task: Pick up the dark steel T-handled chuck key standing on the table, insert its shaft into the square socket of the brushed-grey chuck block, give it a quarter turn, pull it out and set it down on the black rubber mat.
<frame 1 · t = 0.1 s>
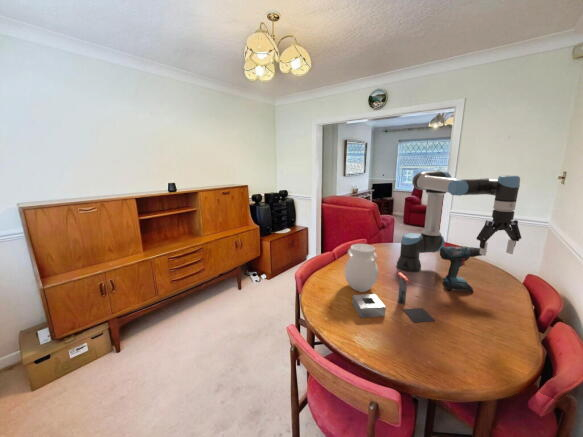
hand: (496, 254, 117), 28 cm above the table, fingers open, 13 cm apart
white vase: (360, 287, 145), on the table
power drill: (458, 288, 142), on the table
chuck block: (368, 309, 124), on the table
chuck key: (401, 301, 130), on the table
mat: (418, 315, 118), on the table
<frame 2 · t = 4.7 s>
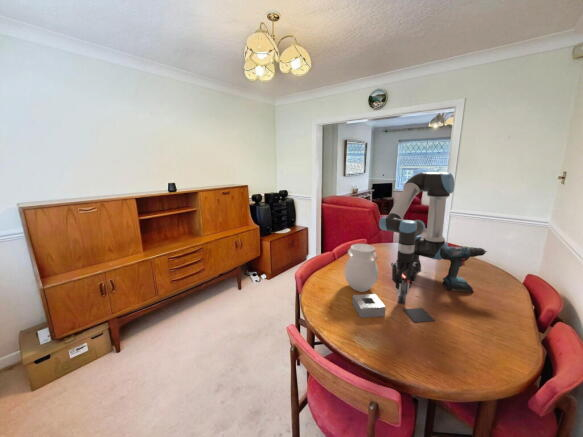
hand: (402, 293, 129), 5 cm above the table, fingers closed on chuck key, 3 cm apart
chuck key: (401, 301, 130), on the table, touching gripper
everything else where it was.
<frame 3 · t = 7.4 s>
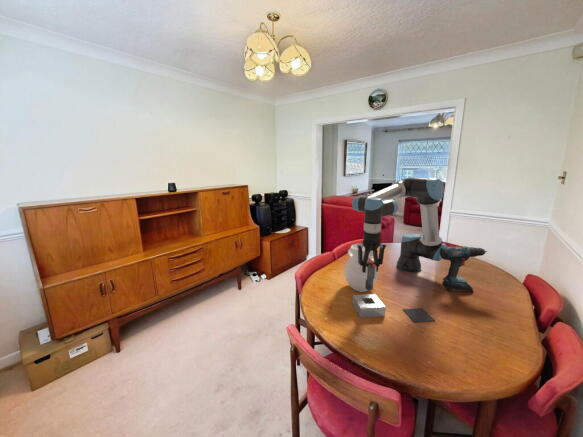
hand: (369, 277, 120), 17 cm above the table, fingers closed on chuck key, 3 cm apart
chuck key: (369, 288, 121), point 12 cm above the table, touching gripper
everything else where it was.
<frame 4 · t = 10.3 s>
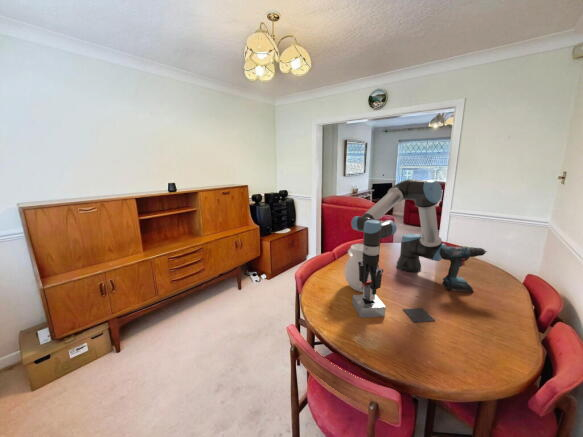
hand: (368, 297, 122), 7 cm above the table, fingers closed on chuck key, 3 cm apart
chuck key: (368, 307, 123), point 1 cm above the table, touching gripper
everything else where it was.
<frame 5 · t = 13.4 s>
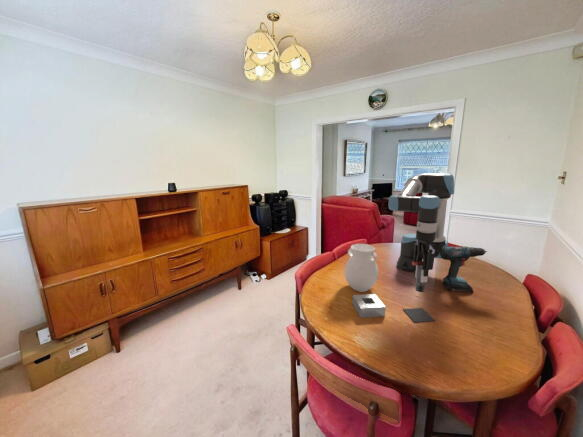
hand: (421, 279, 114), 18 cm above the table, fingers closed on chuck key, 3 cm apart
chuck key: (419, 290, 116), point 13 cm above the table, touching gripper
everything else where it was.
when the fingers open (6 cm above the table, at t = 16.0 s): chuck key stays where it is, resting on mat.
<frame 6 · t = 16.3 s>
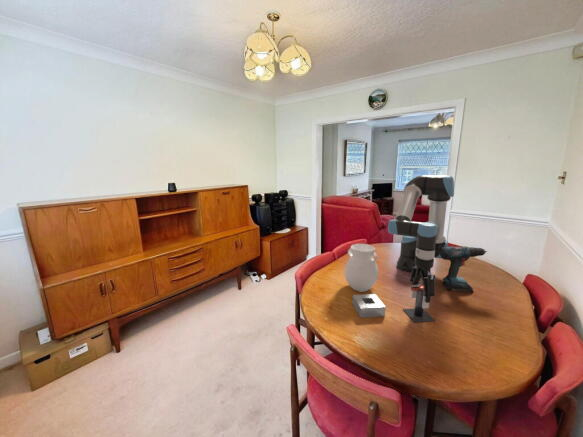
hand: (419, 302, 117), 7 cm above the table, fingers open, 8 cm apart
chuck key: (418, 314, 118), resting on mat
everything else where it was.
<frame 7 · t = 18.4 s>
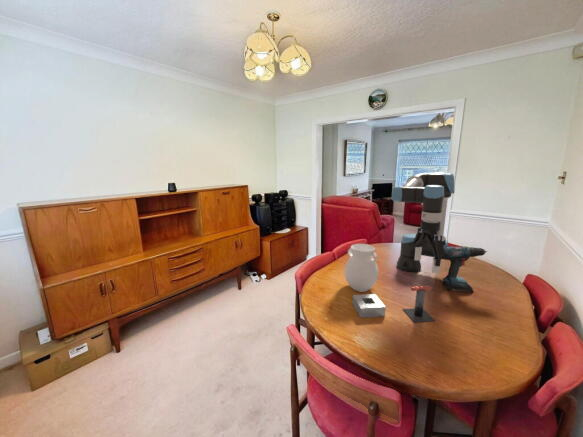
hand: (425, 265, 114), 25 cm above the table, fingers open, 13 cm apart
nothing on the table moved.
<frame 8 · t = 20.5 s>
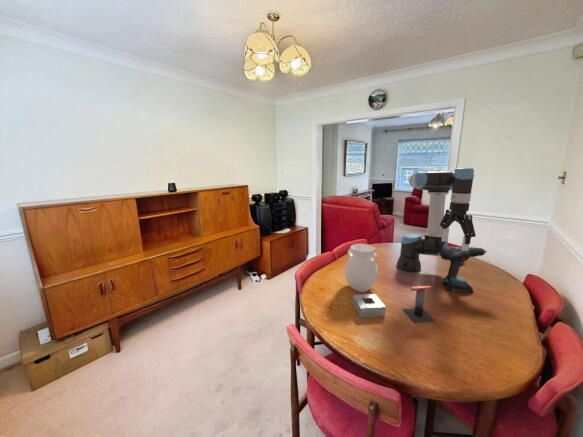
hand: (454, 245, 119), 32 cm above the table, fingers open, 13 cm apart
nothing on the table moved.
at the end: chuck key inside the target area on the mat (0.0 cm from its centre), point 0.4 cm above the mat's base; the gripper is holding nothing; chuck key touching mat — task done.
